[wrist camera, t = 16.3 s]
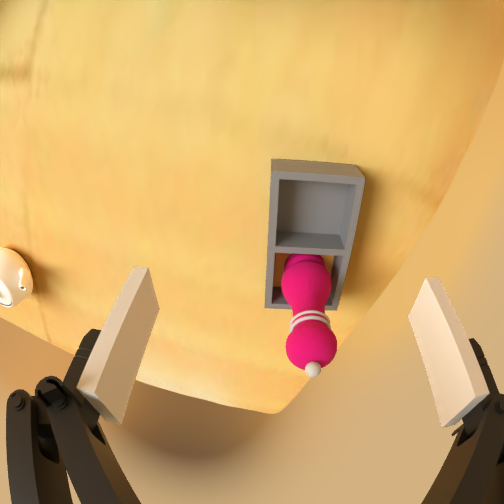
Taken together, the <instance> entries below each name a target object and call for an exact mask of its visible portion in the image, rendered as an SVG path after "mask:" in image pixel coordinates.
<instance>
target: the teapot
mask: <svg viewBox="0 0 504 504" xmlns="http://www.w3.org/2000/svg"><path fill="white" fill-rule="evenodd" d="M32 290H33V280H32V275H31V271H30V269H29V267H28V265H27V263H26V262H25V260H24V259H23V258H22V257H21V256H20V255H19V254H18V253H17V252H15V251H13V250H11V249H8V248H0V305H2V306H4V307H13V306H15V305H17V304H20V303H21V302H23V301H25V300H26V299H27V298H28V297H29V296H30V295H31V293H32Z"/></svg>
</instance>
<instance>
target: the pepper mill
mask: <svg viewBox="0 0 504 504" xmlns="http://www.w3.org/2000/svg"><path fill="white" fill-rule="evenodd" d="M281 287H282V292H283V295H284V297H285V299H286V301H287V302H288V303H289V305H290V306H291V307H292V310H293V318H292V320H291V321H290V334H289V336H288V338H287V341H286V352H287V356H288V358H289V360H290V361H291V362H292V363H293V364H294V365H295V366H297V367H298V368H301V369H304V370H305V372H306V374H307V375H308V376H310V377H316V376H317V375H318V374H319V373H320V372H321V368H323V367H325V366H326V365H328V364H329V363H330V362H331V361H332V360H333V358H334V356H335V354H336V351H337V340H336V336H335V335H334V333H333V332H332V330H331V327H330V320H329V318H328V316H327V315H325V305H326V302H327V300H328V298H329V295H330V291H331V277H330V274H329V272H328V271H327V269H326V268H325V263H324V260H323V258H322V256H321V255H316V254H295V253H292V254H291V255H289V256H288V258H287V259H286V261H285V264H284V274H283V276H282V279H281Z"/></svg>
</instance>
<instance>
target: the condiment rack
mask: <svg viewBox="0 0 504 504" xmlns="http://www.w3.org/2000/svg"><path fill="white" fill-rule="evenodd" d="M364 184H365V177H364V175H363V174H362V173H361V171H360V170H359V169H358V167H357V166H356V165H350V164H340V163H329V162H317V161H303V160H287V159H271V183H270V207H269V229H268V250H267V270H266V290H265V308H275V309H292V307H291V306H290V305H289V303H288V302H287V301H286V299H285V297H284V295H283V292H282V287H281V279H282V276H283V274H284V264H285V261H286V259H287V258H288V256H289V255H291V254H292V253H295V254H316V255H321V256H322V258H323V260H324V263H325V268H326V269H327V271H328V272H329V274H330V277H331V291H330V295H329V298H328V300H327V302H326V305H325V310H337V308H338V304H339V300H340V296H341V293H342V289H343V285H344V281H345V276H346V272H347V268H348V264H349V259H350V255H351V251H352V246H353V241H354V237H355V232H356V227H357V222H358V217H359V212H360V206H361V201H362V195H363V190H364Z"/></svg>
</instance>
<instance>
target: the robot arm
mask: <svg viewBox="0 0 504 504" xmlns="http://www.w3.org/2000/svg"><path fill="white" fill-rule="evenodd" d="M158 312H159V305H158V302H157V298H156V294H155V291H154V287H153V283H152V279H151V276H150V272H149V268H148V267H133V269H132V271H131V273H130V274H129V276H128V278H127V280H126V282H125V284H124V286H123V288H122V290H121V292H120V294H119V296H118V298H117V300H116V301H115V303H114V305H113V308H112V310H111V312H110V314H109V316H108V318H107V320H106V322H105V324H104V326H103V328H102V330H96V329H91V330H90V331H89V332H88V333H87V334H86V335H85V336H84V337H83V339H82V342H81V344H80V346H79V349H78V350H77V352H76V354H75V357H74V358H73V361H72V363H71V365H70V367H69V369H68V372H67V374H66V376H65V378H64V381H63V382H62V381H61V380H60V379H58V378H57V377H54V376H49V377H45V378H44V379H42V380H41V381H40V382H39V383H38V384H37V386H36V389H35V396H30V395H29V394H28V393H27V392H26V391H24V390H16V391H14V392H13V393H12V394H10V396H9V398H8V401H7V410H6V411H7V412H6V446H7V465H8V477H9V486H10V494H11V501H12V504H73V502H72V498H71V493H70V488H69V483H68V477H67V472H68V475H69V477H70V480H71V482H72V484H73V486H74V489H75V491H76V493H77V495H78V497H79V500H80V502H81V504H141V503H140V501H139V499H138V498H137V496H136V494H135V493H134V491H133V489H132V487H131V486H130V484H129V482H128V480H127V479H126V477H125V475H124V473H123V471H122V469H121V468H120V466H119V464H118V462H117V460H116V458H115V456H114V454H113V452H112V450H111V448H110V446H109V443H108V442H107V439H106V437H105V435H104V433H103V430H102V428H101V426H100V424H99V422H98V419H99V416H100V415H101V416H102V418H104V419H105V420H106V421H110V422H114V423H117V424H122V421H123V417H124V413H125V410H126V407H127V404H128V401H129V397H130V394H131V390H132V387H133V385H134V381H135V378H136V375H137V372H138V369H139V366H140V363H141V360H142V357H143V354H144V351H145V348H146V345H147V343H148V340H149V337H150V334H151V331H152V328H153V325H154V323H155V320H156V317H157V314H158ZM408 318H409V321H410V323H411V326H412V329H413V332H414V335H415V338H416V341H417V344H418V346H419V350H420V353H421V356H422V359H423V362H424V365H425V369H426V372H427V375H428V379H429V382H430V385H431V389H432V393H433V396H434V400H435V404H436V408H437V412H438V416H439V420H440V424H441V428H443V427H448V426H451V425H455V424H456V423H457V422H459V421H460V420H461V419H462V420H463V423H464V424H462V425H461V426H460V427H459V428H458V429H456V430H455V431H454V432H453V433H452V436H454V435H455V434H456V433H458V434H457V436H456V439H455V441H454V443H453V445H452V447H451V450H450V452H449V454H448V456H447V458H446V460H445V462H444V464H443V466H442V468H441V470H440V472H439V474H438V476H437V477H436V479H435V481H434V483H433V485H432V487H431V488H430V490H429V492H428V493H427V495H426V497H425V498H424V500H423V502H422V503H421V504H504V394H500V393H499V391H498V389H497V386H496V383H495V381H494V378H493V375H492V373H491V370H490V368H489V366H488V365H487V361H486V358H484V354H483V351H482V349H481V346H480V345H479V344H478V343H477V342H476V340H475V339H474V338H472V339H468V337H467V335H466V333H465V330H464V328H463V326H462V324H461V322H460V320H459V318H458V315H457V313H456V311H455V309H454V307H453V305H452V303H451V301H450V300H449V297H448V295H447V294H446V291H445V290H444V288H443V286H442V284H441V282H440V280H439V278H429V277H428V278H425V281H424V283H423V285H422V287H421V290H420V292H419V294H418V297H417V298H416V301H415V303H414V305H413V307H412V309H411V311H410V313H409V316H408ZM66 470H67V472H66Z"/></svg>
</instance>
